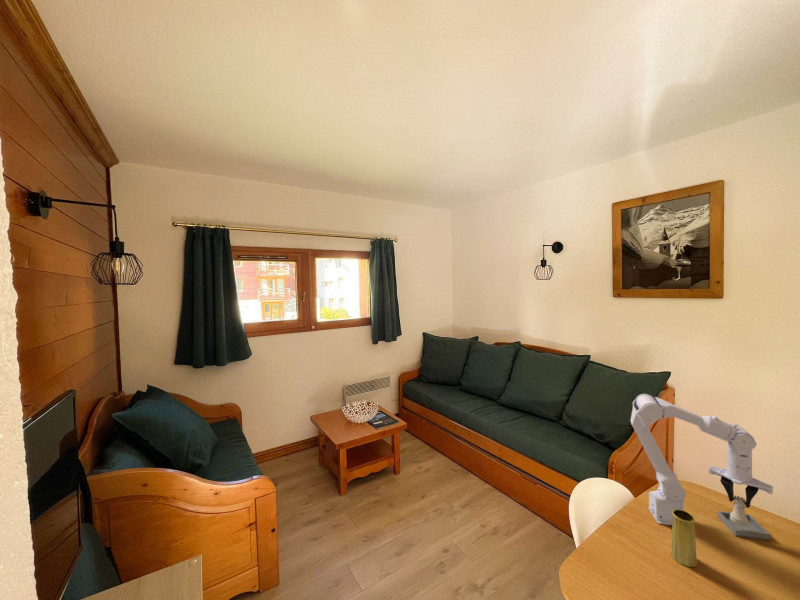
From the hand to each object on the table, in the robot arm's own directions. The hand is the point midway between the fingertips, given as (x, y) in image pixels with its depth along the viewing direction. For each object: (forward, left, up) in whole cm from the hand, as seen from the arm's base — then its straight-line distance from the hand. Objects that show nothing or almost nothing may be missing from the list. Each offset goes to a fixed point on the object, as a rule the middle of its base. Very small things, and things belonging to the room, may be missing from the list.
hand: (739, 503), depth 109 cm
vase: (-23, -15, -10) cm, 29 cm away
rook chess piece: (-1, -1, -6) cm, 6 cm away
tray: (+2, +2, -10) cm, 10 cm away
